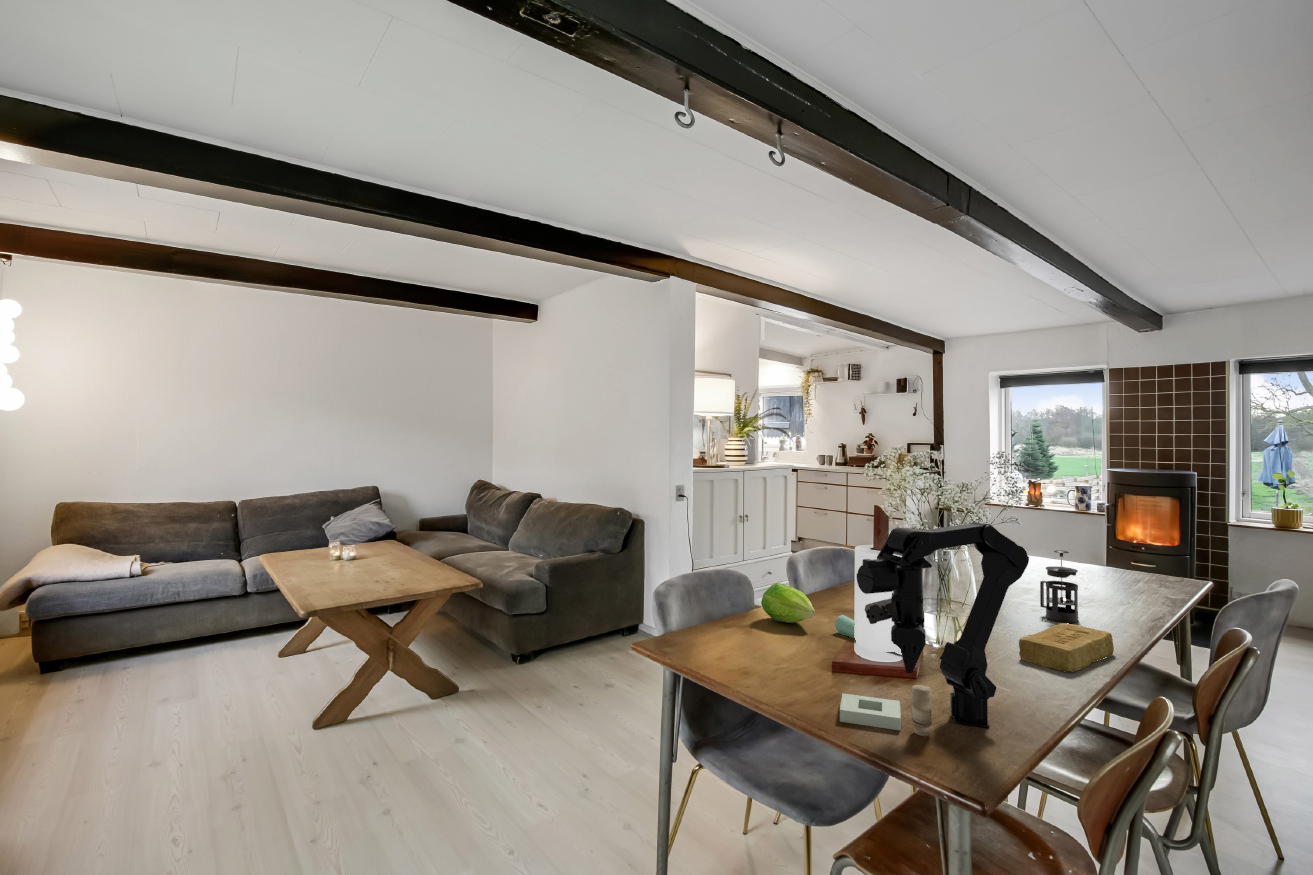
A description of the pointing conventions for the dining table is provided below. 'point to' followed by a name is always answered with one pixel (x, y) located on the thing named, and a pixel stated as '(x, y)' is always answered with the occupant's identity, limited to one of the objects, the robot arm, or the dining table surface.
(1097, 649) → the brick
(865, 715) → the board
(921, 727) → the peg
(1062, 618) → the french press
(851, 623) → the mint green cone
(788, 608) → the lettuce
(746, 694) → the dining table surface
